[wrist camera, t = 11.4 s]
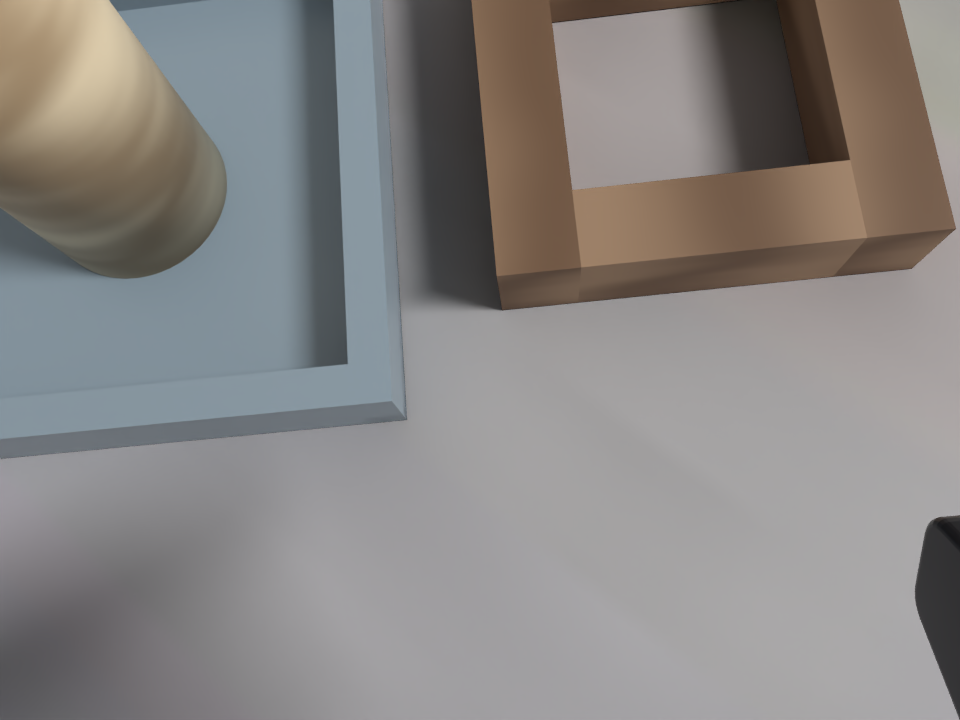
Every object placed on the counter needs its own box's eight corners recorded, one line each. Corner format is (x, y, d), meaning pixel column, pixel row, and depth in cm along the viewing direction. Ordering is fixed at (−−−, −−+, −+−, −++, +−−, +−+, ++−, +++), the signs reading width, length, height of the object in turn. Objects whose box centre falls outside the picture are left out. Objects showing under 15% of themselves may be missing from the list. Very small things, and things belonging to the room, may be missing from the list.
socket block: (502, 310, 23) (496, 276, 20) (470, -27, 26) (462, -91, 23) (911, 268, 22) (956, 228, 20) (833, -71, 25) (863, -142, 23)
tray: (-115, 469, 23) (-182, 456, 21) (-67, 20, 27) (-119, -30, 25) (406, 419, 22) (391, 401, 20) (380, -35, 26) (365, -92, 24)
